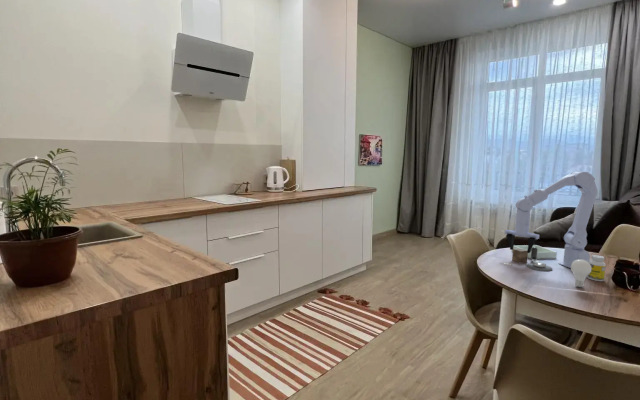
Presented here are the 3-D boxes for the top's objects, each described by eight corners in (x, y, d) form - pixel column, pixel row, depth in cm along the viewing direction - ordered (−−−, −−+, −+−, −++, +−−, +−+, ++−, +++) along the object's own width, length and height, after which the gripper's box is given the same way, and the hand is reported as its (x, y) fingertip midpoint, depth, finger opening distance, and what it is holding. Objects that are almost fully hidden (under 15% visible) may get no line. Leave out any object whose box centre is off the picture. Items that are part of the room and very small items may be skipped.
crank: (547, 268, 154) (548, 254, 153) (534, 267, 155) (535, 253, 155) (538, 260, 167) (539, 247, 166) (527, 259, 168) (528, 246, 168)
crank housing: (548, 265, 160) (548, 264, 160) (555, 272, 151) (555, 271, 151) (501, 261, 166) (501, 260, 166) (505, 267, 157) (505, 266, 157)
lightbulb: (567, 287, 132) (570, 259, 131) (570, 283, 137) (572, 256, 136) (588, 291, 128) (591, 263, 127) (590, 287, 133) (593, 259, 132)
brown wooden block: (526, 262, 165) (527, 250, 164) (520, 263, 163) (521, 251, 163) (518, 260, 169) (519, 248, 168) (511, 260, 168) (512, 249, 167)
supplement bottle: (584, 277, 144) (586, 255, 142) (592, 276, 146) (594, 254, 145) (599, 282, 139) (601, 258, 138) (606, 280, 141) (609, 257, 140)
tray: (556, 259, 172) (556, 252, 171) (530, 259, 170) (530, 252, 170) (535, 251, 185) (536, 245, 185) (511, 252, 184) (512, 245, 183)
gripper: (542, 224, 161) (539, 252, 163) (509, 220, 172) (507, 246, 174) (537, 226, 157) (534, 255, 158) (503, 221, 167) (501, 248, 169)
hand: (520, 251), depth 166 cm, fingers open, 7 cm apart
